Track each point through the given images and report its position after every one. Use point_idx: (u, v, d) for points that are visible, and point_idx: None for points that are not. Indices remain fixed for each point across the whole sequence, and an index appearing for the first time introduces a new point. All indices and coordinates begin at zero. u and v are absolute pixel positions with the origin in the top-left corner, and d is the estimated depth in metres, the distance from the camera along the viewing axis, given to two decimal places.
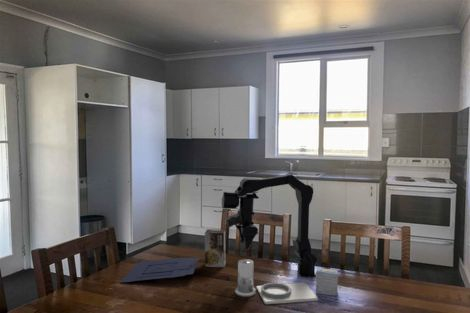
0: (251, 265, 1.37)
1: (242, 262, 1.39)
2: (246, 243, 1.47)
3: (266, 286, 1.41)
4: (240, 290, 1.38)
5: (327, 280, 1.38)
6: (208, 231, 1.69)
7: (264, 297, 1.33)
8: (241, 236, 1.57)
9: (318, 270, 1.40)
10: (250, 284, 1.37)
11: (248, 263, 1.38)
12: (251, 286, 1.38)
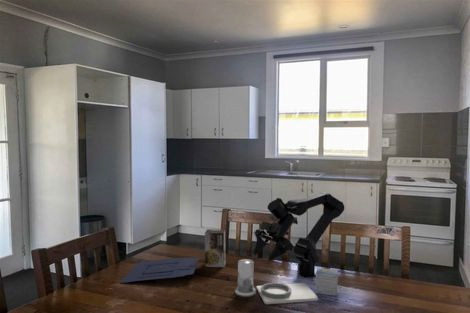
0: (251, 265, 1.37)
1: (242, 262, 1.39)
2: (273, 255, 1.40)
3: (266, 286, 1.41)
4: (240, 290, 1.38)
5: (327, 280, 1.38)
6: (208, 231, 1.69)
7: (264, 297, 1.33)
8: (257, 248, 1.48)
9: (318, 270, 1.40)
10: (250, 284, 1.37)
11: (247, 263, 1.38)
12: (251, 286, 1.38)
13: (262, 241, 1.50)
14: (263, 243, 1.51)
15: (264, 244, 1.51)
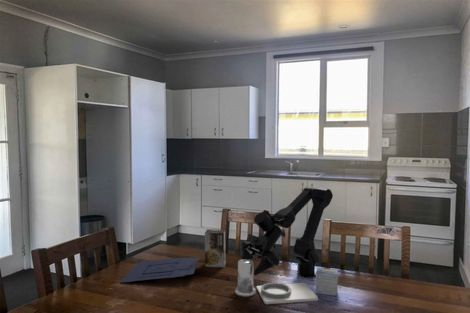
0: (251, 265, 1.37)
1: (242, 262, 1.39)
2: (258, 269, 1.36)
3: (266, 286, 1.41)
4: (240, 290, 1.38)
5: (327, 280, 1.38)
6: (208, 231, 1.69)
7: (264, 297, 1.33)
8: None
9: (318, 270, 1.40)
10: (250, 284, 1.37)
11: (248, 263, 1.38)
12: (251, 286, 1.38)
13: (248, 254, 1.47)
14: (249, 256, 1.47)
15: (250, 257, 1.47)
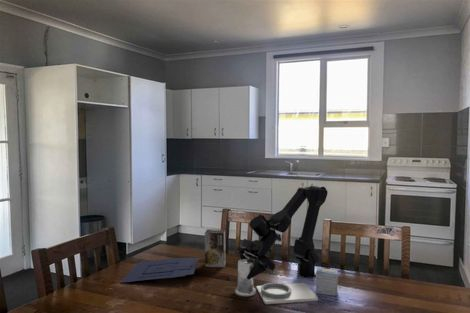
0: (251, 265, 1.37)
1: (242, 262, 1.39)
2: (252, 273, 1.36)
3: (266, 286, 1.41)
4: (240, 290, 1.38)
5: (327, 280, 1.38)
6: (208, 231, 1.69)
7: (264, 297, 1.33)
8: None
9: (318, 270, 1.40)
10: (250, 284, 1.37)
11: (247, 263, 1.38)
12: (251, 286, 1.38)
13: None
14: None
15: None
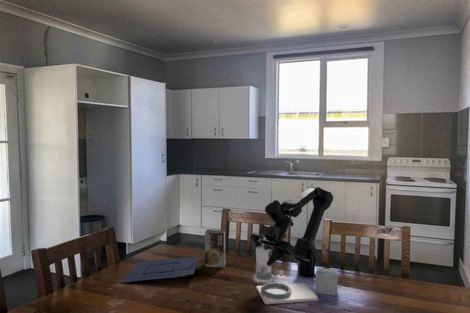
0: (270, 251, 1.36)
1: (260, 249, 1.36)
2: (272, 259, 1.35)
3: (266, 286, 1.41)
4: (260, 277, 1.36)
5: (327, 280, 1.38)
6: (208, 231, 1.69)
7: (264, 297, 1.33)
8: None
9: (318, 270, 1.40)
10: (270, 271, 1.36)
11: (266, 249, 1.36)
12: (270, 272, 1.36)
13: None
14: None
15: None
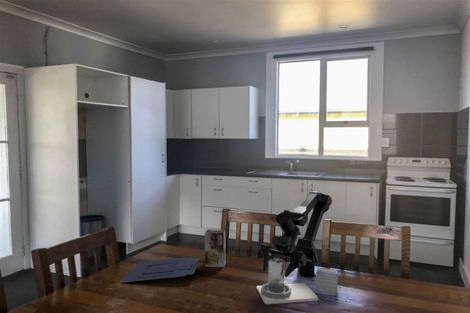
0: (283, 264, 1.36)
1: (274, 262, 1.36)
2: (289, 270, 1.34)
3: (266, 286, 1.41)
4: (273, 290, 1.35)
5: (327, 280, 1.38)
6: (208, 231, 1.69)
7: (264, 297, 1.33)
8: (266, 264, 1.40)
9: (318, 270, 1.40)
10: (283, 283, 1.36)
11: (280, 262, 1.36)
12: (283, 285, 1.37)
13: (269, 256, 1.43)
14: (270, 258, 1.43)
15: None
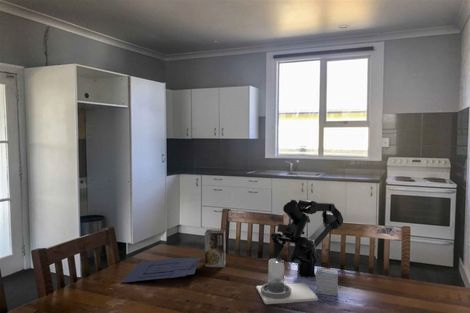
0: (283, 264, 1.36)
1: (273, 262, 1.36)
2: (294, 255, 1.42)
3: (266, 286, 1.41)
4: (273, 290, 1.35)
5: (327, 280, 1.38)
6: (208, 231, 1.69)
7: (264, 297, 1.33)
8: (276, 251, 1.50)
9: (318, 270, 1.40)
10: (283, 283, 1.36)
11: (280, 262, 1.36)
12: (283, 285, 1.37)
13: (280, 244, 1.53)
14: (281, 246, 1.53)
15: (282, 246, 1.53)
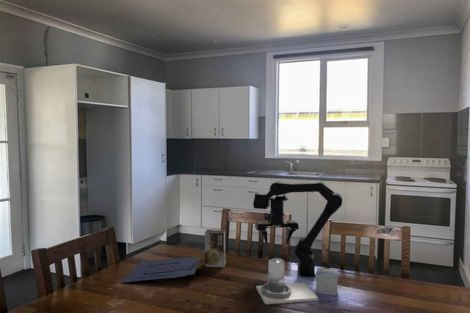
0: (283, 264, 1.36)
1: (274, 262, 1.36)
2: (264, 239, 1.62)
3: (266, 286, 1.41)
4: (273, 290, 1.35)
5: (327, 280, 1.38)
6: (208, 231, 1.69)
7: (264, 297, 1.33)
8: (286, 238, 1.63)
9: (318, 270, 1.40)
10: (283, 283, 1.36)
11: (280, 262, 1.36)
12: (283, 285, 1.37)
13: (287, 230, 1.63)
14: (288, 231, 1.62)
15: (288, 232, 1.61)
